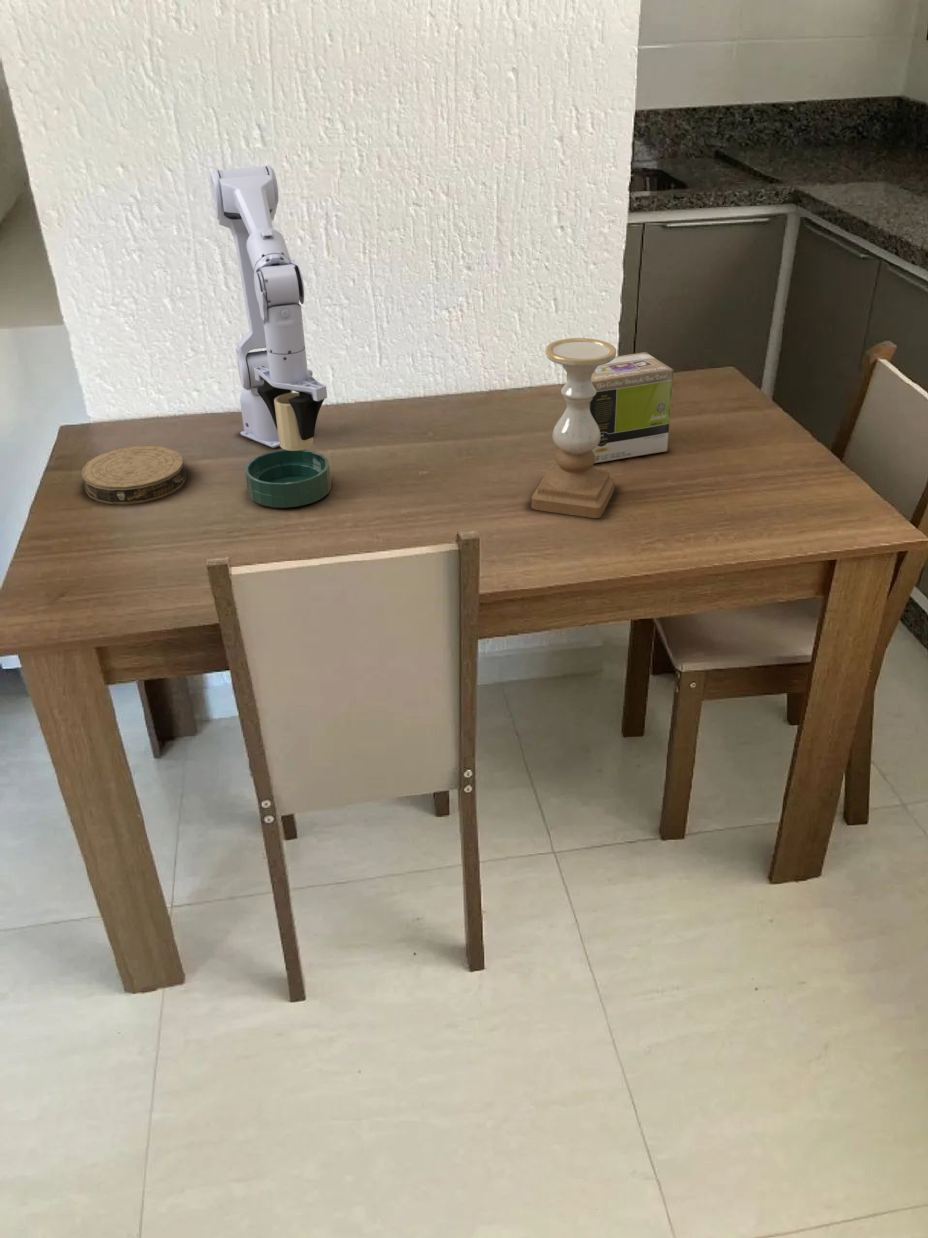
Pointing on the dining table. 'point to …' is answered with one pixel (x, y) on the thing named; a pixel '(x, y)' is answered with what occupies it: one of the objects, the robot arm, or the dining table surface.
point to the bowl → (288, 478)
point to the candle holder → (576, 435)
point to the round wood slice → (134, 475)
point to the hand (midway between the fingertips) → (295, 433)
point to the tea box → (631, 406)
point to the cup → (289, 425)
